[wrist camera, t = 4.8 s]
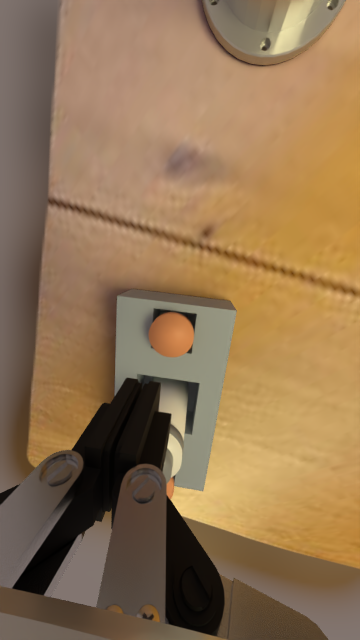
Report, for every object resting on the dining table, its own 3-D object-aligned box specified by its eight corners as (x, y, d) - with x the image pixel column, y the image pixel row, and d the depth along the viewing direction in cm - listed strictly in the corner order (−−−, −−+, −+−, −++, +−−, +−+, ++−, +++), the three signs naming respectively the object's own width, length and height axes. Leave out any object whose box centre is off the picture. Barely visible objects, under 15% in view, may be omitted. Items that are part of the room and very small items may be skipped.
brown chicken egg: (159, 301, 26) (150, 311, 21) (197, 306, 25) (196, 317, 21) (156, 336, 27) (147, 354, 22) (192, 341, 27) (190, 360, 22)
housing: (132, 288, 27) (117, 295, 22) (230, 300, 26) (236, 310, 22) (125, 444, 34) (112, 475, 29) (203, 457, 33) (203, 491, 28)
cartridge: (152, 365, 29) (118, 440, 17) (191, 371, 28) (184, 451, 17) (149, 399, 30) (116, 489, 18) (187, 404, 30) (177, 500, 18)
